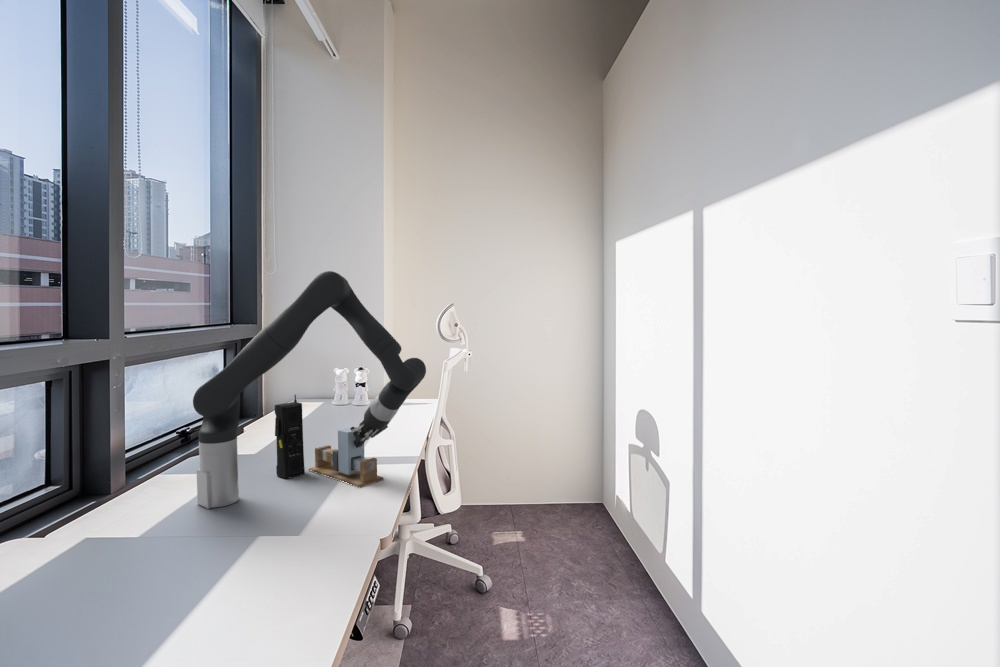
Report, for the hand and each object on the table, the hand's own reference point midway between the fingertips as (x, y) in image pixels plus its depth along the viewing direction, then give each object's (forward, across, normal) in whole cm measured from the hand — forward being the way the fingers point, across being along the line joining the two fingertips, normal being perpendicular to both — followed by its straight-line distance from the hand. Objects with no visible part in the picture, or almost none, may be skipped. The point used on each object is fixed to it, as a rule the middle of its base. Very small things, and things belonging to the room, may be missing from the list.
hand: (356, 444), depth 166 cm
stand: (+12, 0, +3) cm, 12 cm away
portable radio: (+22, +11, -6) cm, 25 cm away
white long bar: (+10, 0, +1) cm, 10 cm away
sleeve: (+8, 0, +4) cm, 9 cm away
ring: (+11, 0, +1) cm, 11 cm away
